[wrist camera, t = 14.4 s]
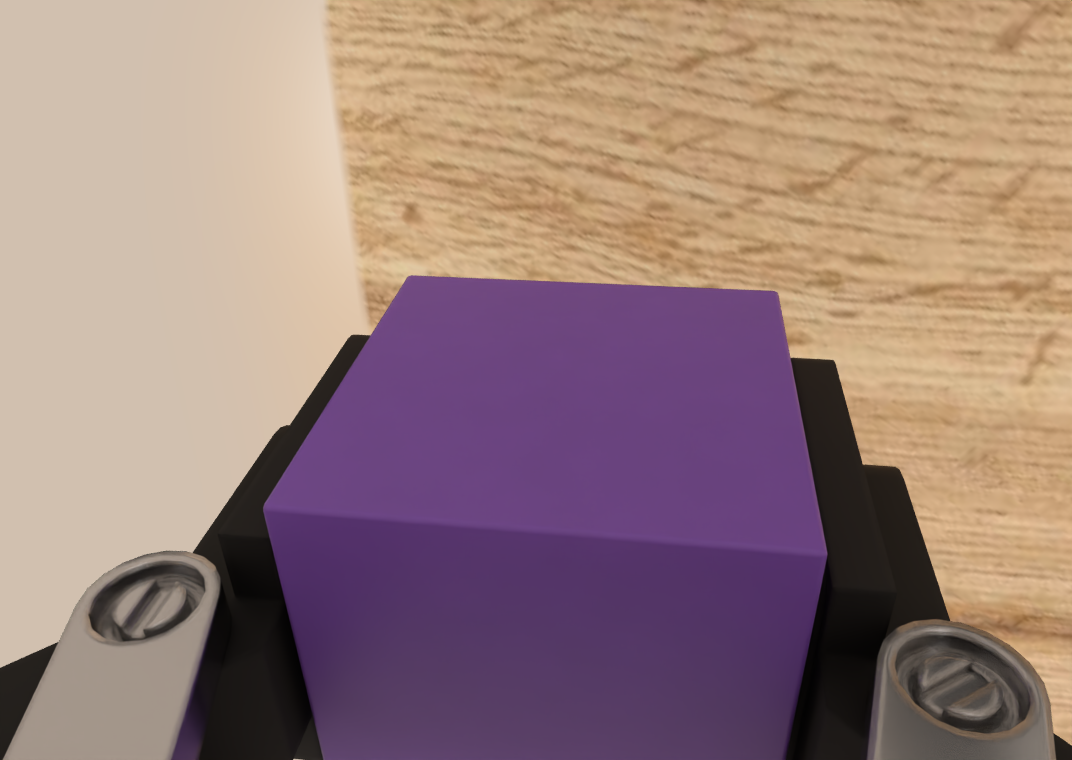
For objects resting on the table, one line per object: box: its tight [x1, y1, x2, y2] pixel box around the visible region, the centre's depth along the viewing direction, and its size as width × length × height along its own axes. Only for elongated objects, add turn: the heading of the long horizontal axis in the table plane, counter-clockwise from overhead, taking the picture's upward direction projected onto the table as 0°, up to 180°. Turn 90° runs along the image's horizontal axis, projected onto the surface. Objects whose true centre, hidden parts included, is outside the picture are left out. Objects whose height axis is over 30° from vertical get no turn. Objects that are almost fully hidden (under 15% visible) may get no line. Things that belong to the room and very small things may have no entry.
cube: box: [263, 276, 828, 760], centre depth 10 cm, size 4×4×4 cm
